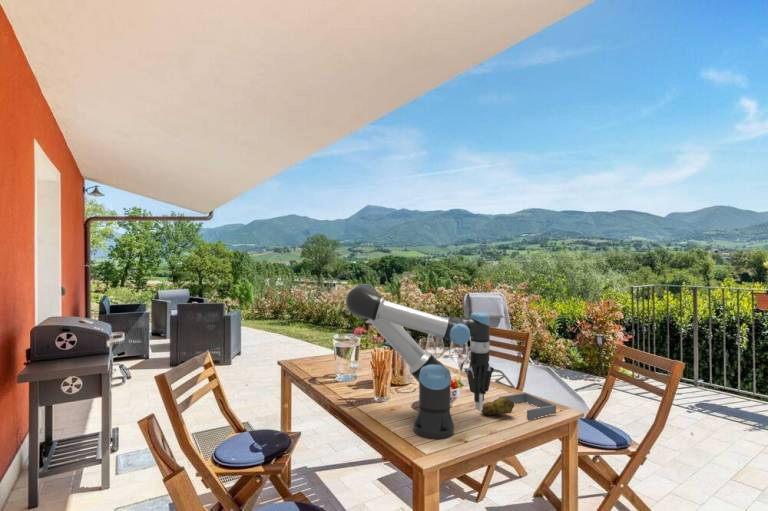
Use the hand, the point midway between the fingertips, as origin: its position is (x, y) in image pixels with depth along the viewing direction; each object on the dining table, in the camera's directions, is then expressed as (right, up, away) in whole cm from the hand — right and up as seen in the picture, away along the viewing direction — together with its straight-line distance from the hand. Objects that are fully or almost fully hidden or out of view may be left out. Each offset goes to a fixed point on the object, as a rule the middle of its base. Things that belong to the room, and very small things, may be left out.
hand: (479, 409), depth 173 cm
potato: (+8, -5, +4) cm, 11 cm away
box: (+23, -5, +11) cm, 26 cm away
